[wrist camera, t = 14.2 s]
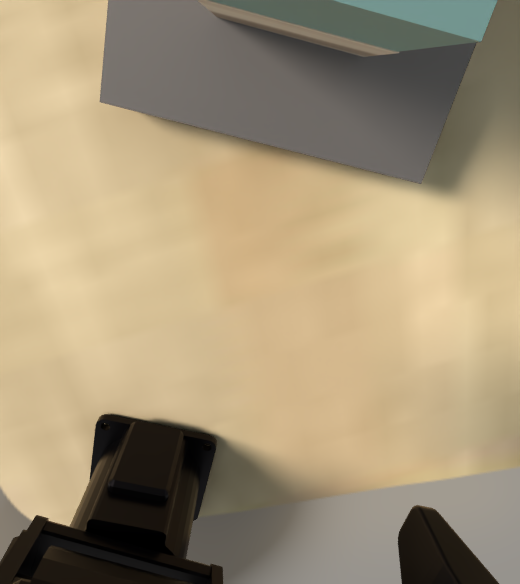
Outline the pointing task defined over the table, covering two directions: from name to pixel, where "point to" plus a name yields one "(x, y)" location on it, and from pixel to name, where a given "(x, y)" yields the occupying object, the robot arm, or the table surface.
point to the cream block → (294, 30)
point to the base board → (280, 86)
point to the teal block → (384, 19)
